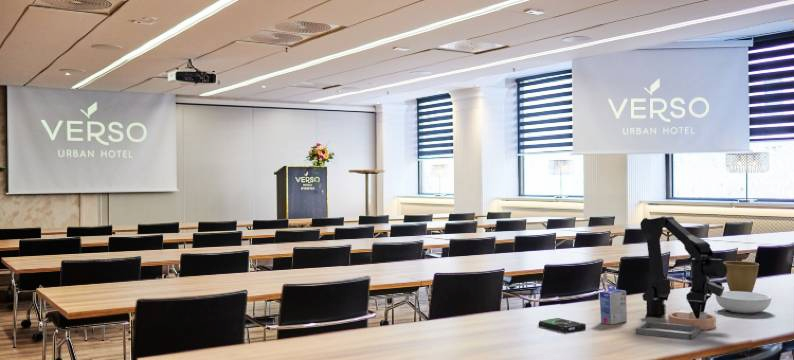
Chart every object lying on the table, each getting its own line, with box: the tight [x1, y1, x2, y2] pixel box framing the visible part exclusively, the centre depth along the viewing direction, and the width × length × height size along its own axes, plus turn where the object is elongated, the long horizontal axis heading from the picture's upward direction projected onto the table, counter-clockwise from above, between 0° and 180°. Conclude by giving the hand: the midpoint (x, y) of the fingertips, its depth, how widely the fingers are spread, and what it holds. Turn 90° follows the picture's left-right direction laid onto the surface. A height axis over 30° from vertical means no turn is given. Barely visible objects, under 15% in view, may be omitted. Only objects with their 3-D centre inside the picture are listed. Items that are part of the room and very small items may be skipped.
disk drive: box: [538, 317, 587, 334], centre depth 271 cm, size 10×3×15 cm
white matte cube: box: [676, 309, 692, 319], centre depth 276 cm, size 4×4×4 cm
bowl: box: [667, 311, 717, 330], centre depth 274 cm, size 16×16×4 cm
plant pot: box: [723, 260, 760, 292], centre depth 334 cm, size 15×15×16 cm
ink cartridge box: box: [599, 283, 628, 325], centre depth 281 cm, size 10×6×14 cm, turn 124°
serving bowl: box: [714, 290, 772, 315], centre depth 300 cm, size 21×21×7 cm
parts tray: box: [635, 321, 701, 340], centre depth 261 cm, size 19×15×2 cm
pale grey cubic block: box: [693, 311, 708, 319], centre depth 273 cm, size 4×4×4 cm
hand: (699, 316), depth 273 cm, fingers open, 9 cm apart
